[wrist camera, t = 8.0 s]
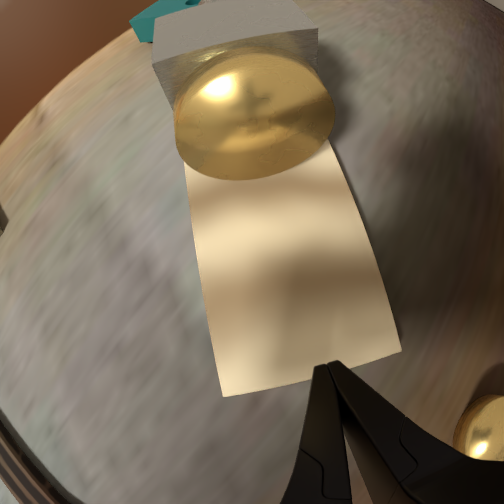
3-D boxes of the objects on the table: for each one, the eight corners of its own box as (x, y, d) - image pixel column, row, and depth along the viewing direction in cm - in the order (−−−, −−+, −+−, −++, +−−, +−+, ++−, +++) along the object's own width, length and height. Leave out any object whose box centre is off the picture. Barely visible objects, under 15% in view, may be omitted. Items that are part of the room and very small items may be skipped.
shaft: (328, 163, 18) (341, 57, 10) (200, 193, 18) (150, 98, 11) (263, 33, 24) (254, -36, 16) (182, 52, 24) (158, -14, 16)
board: (395, 351, 16) (401, 350, 15) (226, 394, 16) (223, 396, 15) (295, 83, 23) (295, 75, 22) (181, 110, 24) (178, 102, 23)
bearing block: (313, 140, 20) (318, 28, 11) (199, 166, 20) (151, 64, 12) (288, 87, 22) (282, -10, 13) (191, 110, 22) (154, 18, 14)
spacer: (493, 461, 12) (511, 468, 9) (441, 464, 13) (458, 474, 10) (513, 395, 13) (533, 396, 11) (464, 392, 14) (484, 395, 12)
